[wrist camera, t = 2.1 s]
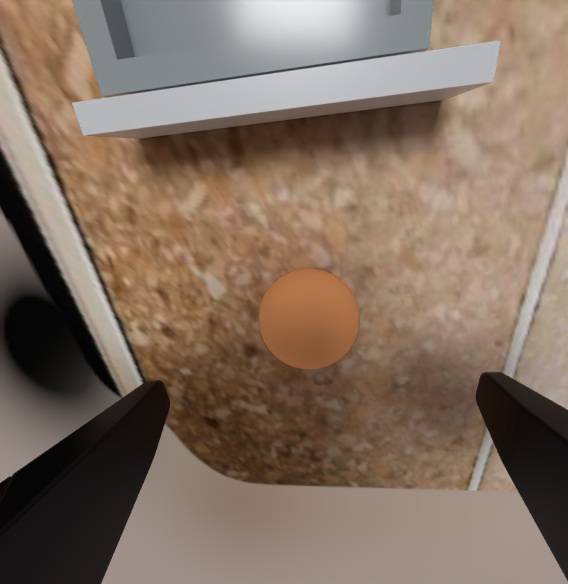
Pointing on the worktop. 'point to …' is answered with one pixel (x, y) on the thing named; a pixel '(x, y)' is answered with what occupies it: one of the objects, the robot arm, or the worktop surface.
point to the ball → (309, 318)
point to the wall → (293, 93)
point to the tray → (240, 38)
